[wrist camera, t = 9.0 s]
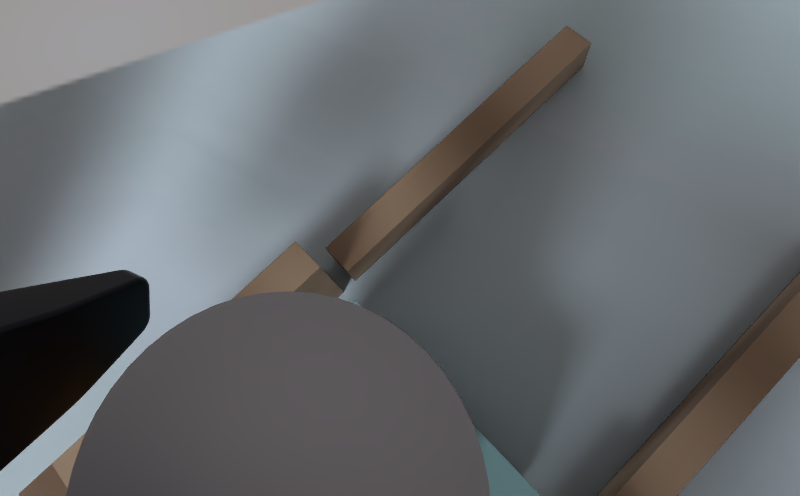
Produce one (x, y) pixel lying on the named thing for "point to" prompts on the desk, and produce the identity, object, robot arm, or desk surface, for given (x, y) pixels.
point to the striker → (287, 411)
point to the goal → (431, 181)
